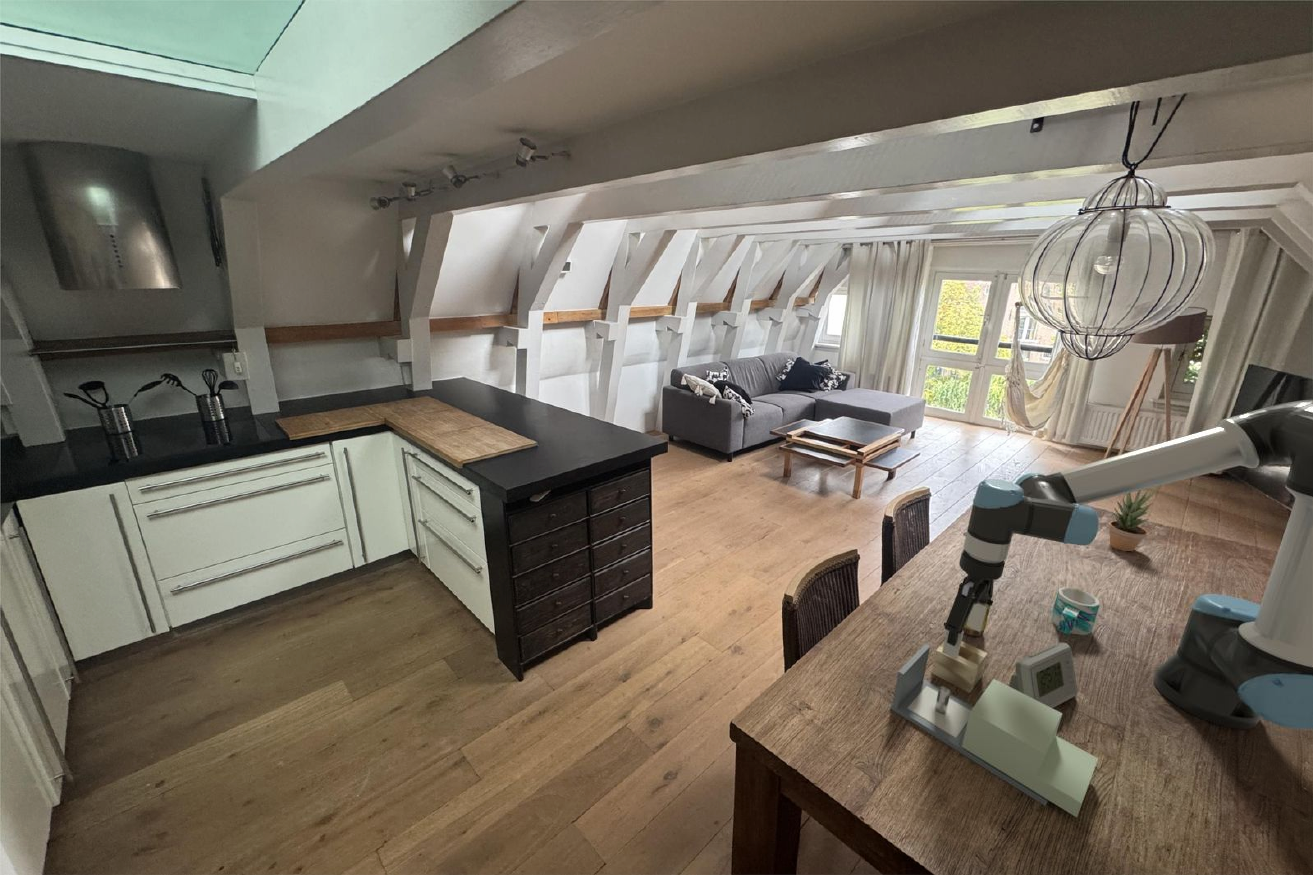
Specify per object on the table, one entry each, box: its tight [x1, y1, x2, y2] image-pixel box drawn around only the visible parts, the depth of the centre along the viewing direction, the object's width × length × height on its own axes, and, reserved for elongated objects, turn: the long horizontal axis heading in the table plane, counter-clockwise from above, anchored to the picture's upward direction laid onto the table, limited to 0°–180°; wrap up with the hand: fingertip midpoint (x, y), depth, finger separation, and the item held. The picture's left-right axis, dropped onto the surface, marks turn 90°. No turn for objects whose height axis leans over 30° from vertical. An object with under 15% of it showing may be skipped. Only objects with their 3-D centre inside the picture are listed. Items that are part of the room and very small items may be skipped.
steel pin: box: [935, 686, 952, 714], centre depth 100 cm, size 2×2×6 cm
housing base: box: [890, 643, 1049, 807], centre depth 95 cm, size 26×12×9 cm, turn 41°
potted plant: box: [1107, 486, 1160, 552], centre depth 164 cm, size 10×10×25 cm
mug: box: [1050, 586, 1101, 636], centre depth 126 cm, size 8×12×8 cm
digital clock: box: [1008, 642, 1079, 709], centre depth 104 cm, size 16×9×11 cm, turn 103°
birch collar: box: [931, 640, 988, 694], centre depth 111 cm, size 8×8×6 cm
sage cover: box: [962, 678, 1099, 818], centre depth 89 cm, size 17×12×8 cm
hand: (962, 641), depth 109 cm, fingers open, 13 cm apart
